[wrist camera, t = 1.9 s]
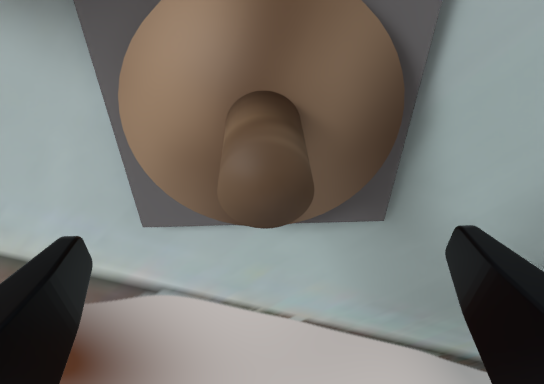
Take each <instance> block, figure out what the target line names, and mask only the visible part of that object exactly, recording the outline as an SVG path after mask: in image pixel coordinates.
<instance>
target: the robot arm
mask: <svg viewBox="0 0 544 384" xmlns="http://www.w3.org/2000/svg"><path fill="white" fill-rule="evenodd" d="M445 255H446V260H447V263H448V267H449V270H450V273H451V277H452V280H453V283H454V287H455V290H456V293H457V297H458V300H459V304H460V307H461V310H462V313H463V315H464V318H465V321H466V323H467V326H468V328H469V330H470V333H471V335H472V337H473V340H474V342H475V345H476V347H477V349H478V352H479V354H480V356H481V359H482V361H483V363H484V366H485V368H486V371H487V373H488V375H489V378H490V380H491V382H492V384H544V272H543V271H542V270H540V269H539V268H537V267H536V266H534V265H533V264H531V263H530V262H528V261H527V260H525V259H524V258H522V257H521V256H519V255H518V254H516V253H515V252H513V251H512V250H511V249H509V248H508V247H506V246H505V245H503V244H502V243H500V242H499V241H497V240H496V239H494V238H493V237H491V236H490V235H488V234H487V233H485V232H484V231H482V230H481V229H479V228H478V227H476V226H473V225H466V226H457V227H456V228H455V229H454V231H453V233H452V236H451V238H450V240H449V242H448V245H447V247H446V251H445ZM91 271H92V258H91V256H90V254H89V252H88V249H87V247H86V245H85V243H84V241H83V239H82V238H81V237H79V236H64V237H61V238H59V239H57V240H56V241H55V242H54V243H52V244H51V245H50V246H48V247H47V248H46V249H45V250H43V251H42V252H41V253H39V254H38V255H37V256H35V257H34V258H33V259H32V260H30V261H29V262H28V263H26V264H25V265H24V266H23V267H21V268H20V269H19V270H17V271H16V272H15V273H14V274H12V275H11V276H10V277H8V278H7V279H6V280H5V281H3V282H2V283H1V284H0V384H59V383H60V380H61V377H62V374H63V371H64V369H65V366H66V363H67V360H68V357H69V354H70V351H71V348H72V346H73V342H74V340H75V337H76V334H77V330H78V328H79V324H80V320H81V316H82V311H83V307H84V302H85V298H86V294H87V289H88V285H89V280H90V276H91Z"/></svg>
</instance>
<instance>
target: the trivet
mask: <svg viewBox="0 0 544 384" xmlns="http://www.w3.org/2000/svg"><path fill="white" fill-rule="evenodd" d="M160 1H161V0H74V4H75V7H76V10H77V13H78V17H79V20H80V23H81V26H82V30H83V33H84V36H85V40H86V43H87V46H88V49H89V53H90V56H91V59H92V63H93V66H94V69H95V72H96V76H97V79H98V82H99V85H100V89H101V92H102V95H103V99H104V102H105V105H106V108H107V112H108V115H109V118H110V121H111V125H112V128H113V131H114V135H115V138H116V141H117V144H118V148H119V151H120V154H121V158H122V161H123V164H124V167H125V171H126V174H127V177H128V180H129V184H130V187H131V190H132V194H133V197H134V200H135V203H136V207H137V210H138V213H139V216H140V220H141V223H142V226H143V227H172V226H209V225H236V224H231V223H226V222H222V221H218V220H215V219H212V218H209V217H206V216H204V215H202V214H199V213H197V212H195V211H193V210H191V209H189V208H187V207H185V206H184V205H182V204H180V203H179V202H177V201H176V200H174V199H173V198H172V197H170V196H169V195H167V194H166V193H165V192H164V191H163V190H162V189H161V188H160V187H158V186H157V185H156V184H155V183H154V182H153V180H152V179H151V178H150V177H149V176H148V175H147V174H146V173H145V171H144V170H143V168H142V167H141V165H140V164H139V163H138V161H137V160H136V158H135V156H134V154H133V152H132V150H131V148H130V146H129V144H128V142H127V139H126V136H125V133H124V131H123V127H122V122H121V118H120V113H119V100H118V90H119V77H120V72H121V68H122V64H123V60H124V57H125V54H126V52H127V49H128V47H129V44H130V42H131V40H132V38H133V36H134V35H135V33H136V31H137V30H138V28H139V26H140V25H141V23H142V22H143V21H144V19H145V18H146V17H147V16H148V15H149V13H150V12H151V11H152V10H153V9H154V8H155V6H156V5H157V4H158V3H159V2H160ZM362 1H363V2H364V3H365V4H366V6H367V7H368V8H369V9H370V10H371V11H372V12H373V13H374V14H375V16H376V17H377V18H378V19H379V20H380V22H381V23H382V25H383V27H384V28H385V30H386V31H387V33H388V34H389V36H390V38H391V40H392V42H393V45H394V47H395V49H396V51H397V53H398V57H399V61H400V64H401V68H402V72H403V80H404V88H405V93H404V110H403V116H402V122H401V126H400V129H399V132H398V135H397V139H396V141H395V143H394V145H393V147H392V150H391V152H390V154H389V155H388V157H387V159H386V160H385V162H384V163H383V165H382V167H381V168H380V169H379V170H378V172H377V173H376V174H375V175H374V177H373V178H372V179H371V180H370V181H369V182H368V183H367V184H366V185H365V186H364V187H363V188H362V189H361V190H360V191H359V192H357V193H356V194H355V195H353V196H352V197H351V198H350V199H348V200H347V201H345V202H344V203H342V204H340V205H339V206H337V207H336V208H334V209H332V210H330V211H328V212H326V213H324V214H321V215H318V216H316V217H313V218H311V219H307V220H304V221H300V222H296V223H320V222H357V221H384V218H385V215H386V211H387V207H388V203H389V200H390V196H391V192H392V188H393V184H394V181H395V177H396V173H397V169H398V166H399V162H400V158H401V154H402V151H403V147H404V143H405V139H406V136H407V132H408V128H409V124H410V120H411V117H412V113H413V109H414V105H415V102H416V98H417V94H418V90H419V87H420V83H421V79H422V75H423V71H424V68H425V64H426V60H427V56H428V53H429V49H430V45H431V41H432V38H433V34H434V30H435V26H436V22H437V19H438V15H439V11H440V7H441V4H442V0H362Z"/></svg>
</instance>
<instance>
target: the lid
mask: <svg viewBox="0 0 544 384" xmlns="http://www.w3.org/2000/svg"><path fill="white" fill-rule="evenodd" d="M404 93H405V88H404V80H403V72H402V68H401V64H400V61H399V57H398V53H397V51H396V49H395V47H394V45H393V42H392V40H391V38H390V36H389V34H388V33H387V31H386V30H385V28H384V27H383V25H382V23H381V22H380V20H379V19H378V18H377V17H376V16H375V14H374V13H373V12H372V11H371V10H370V9H369V8H368V7H367V6H366V4H365V3H364V2H363V1H362V0H161V1H160V2H159V3H158V4H157V5H156V6H155V8H154V9H153V10H152V11H151V12H150V13H149V15H148V16H147V17H146V18H145V19H144V21H143V22H142V23H141V25H140V26H139V28H138V30H137V31H136V33H135V35H134V36H133V38H132V40H131V42H130V44H129V47H128V49H127V52H126V54H125V57H124V60H123V64H122V68H121V72H120V77H119V90H118V100H119V113H120V118H121V122H122V127H123V131H124V133H125V136H126V139H127V142H128V144H129V146H130V148H131V150H132V152H133V154H134V156H135V158H136V160H137V161H138V163H139V164H140V165H141V167H142V168H143V170H144V171H145V173H146V174H147V175H148V176H149V177H150V178H151V179H152V180H153V182H154V183H155V184H156V185H157V186H158V187H160V188H161V189H162V190H163V191H164V192H165V193H166V194H167V195H169V196H170V197H172V198H173V199H174V200H176V201H177V202H179V203H180V204H182V205H184V206H185V207H187V208H189V209H191V210H193V211H195V212H197V213H199V214H202V215H204V216H206V217H209V218H212V219H215V220H218V221H222V222H226V223H231V224H236V225H244V226H250V227H255V228H275V227H280V226H283V225H286V224H292V223H296V222H300V221H304V220H307V219H311V218H313V217H316V216H318V215H321V214H324V213H326V212H328V211H330V210H332V209H334V208H336V207H337V206H339V205H340V204H342V203H344V202H345V201H347V200H348V199H350V198H351V197H352V196H353V195H355V194H356V193H357V192H359V191H360V190H361V189H362V188H363V187H364V186H365V185H366V184H367V183H368V182H369V181H370V180H371V179H372V178H373V177H374V175H375V174H376V173H377V172H378V170H379V169H380V168H381V167H382V165H383V163H384V162H385V160H386V159H387V157H388V155H389V154H390V152H391V150H392V147H393V145H394V143H395V141H396V139H397V135H398V132H399V129H400V126H401V122H402V116H403V110H404Z"/></svg>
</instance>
